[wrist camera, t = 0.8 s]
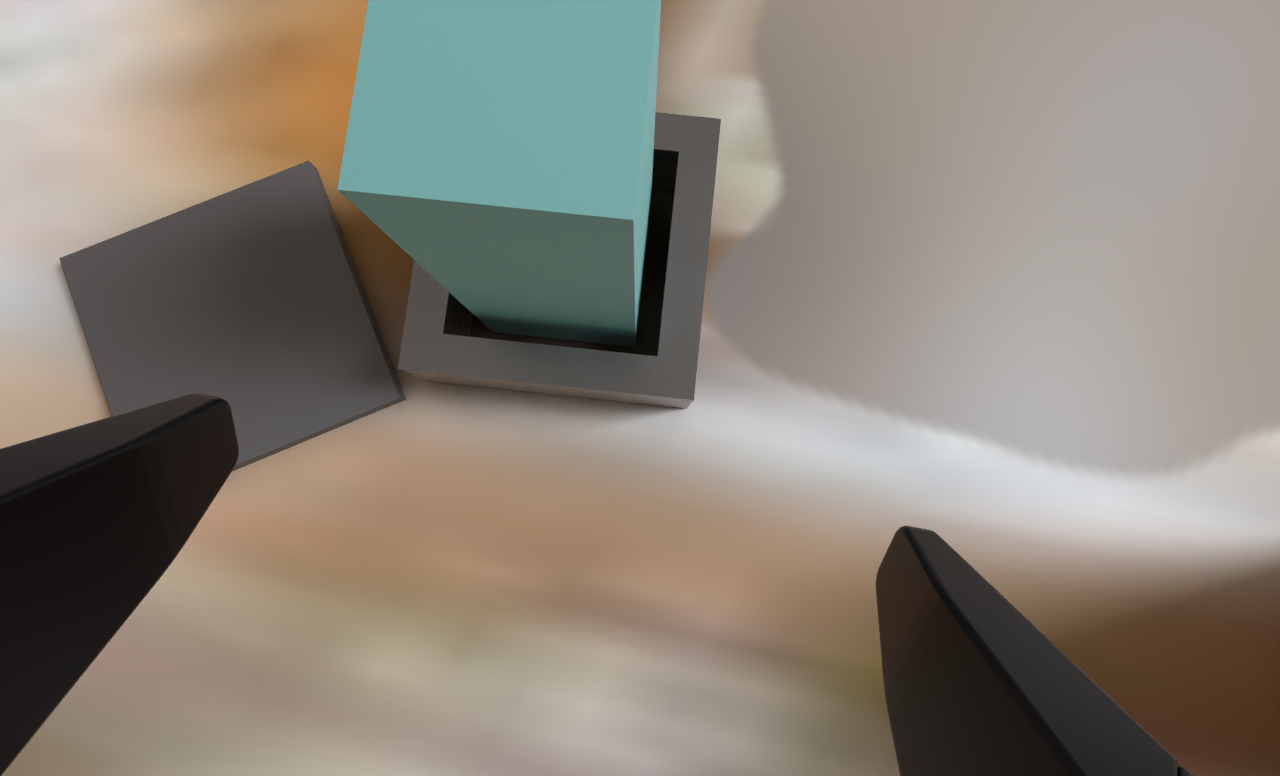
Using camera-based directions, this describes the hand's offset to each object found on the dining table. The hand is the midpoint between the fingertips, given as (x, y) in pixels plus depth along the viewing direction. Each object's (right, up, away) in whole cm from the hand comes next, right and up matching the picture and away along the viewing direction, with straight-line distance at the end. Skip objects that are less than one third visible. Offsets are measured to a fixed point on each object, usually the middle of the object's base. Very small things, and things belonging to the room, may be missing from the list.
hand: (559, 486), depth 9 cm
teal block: (-1, +6, +14) cm, 16 cm away
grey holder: (-1, +6, +14) cm, 15 cm away
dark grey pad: (-13, +3, +14) cm, 19 cm away
